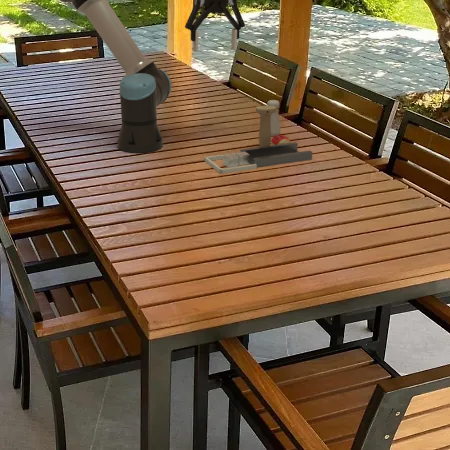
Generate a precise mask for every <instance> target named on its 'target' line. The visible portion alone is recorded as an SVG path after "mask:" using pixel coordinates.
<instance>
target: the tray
mask: <svg viewBox="0 0 450 450" xmlns="http://www.w3.org/2000/svg"><path fill="white" fill-rule="evenodd" d="M235 153H236V152H234V153H231V154H235ZM227 154H228V153H226V154H218V155H212V156H210V155H209V156H204V157H203V159H204V160H203V161H204V162H205V163H206V164H207V165H209V166H210V167H211V168H213V169H214V170H215V171H216V172H217V173H219V174H221V175H222V174H223V175H224V174H229V173H231V174H232V173H238V172H244V171H250V170H256V169H257V168H258V167H257V165H256V164H253V165H251V164H246V165H238V166H237V167H230V168H228V167H226V168H221V167H220V166H219V165H218V164H217V163H215V162H214V161H220V160H223V155H227Z"/></svg>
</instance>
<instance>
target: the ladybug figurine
mask: <svg viewBox="0 0 450 450" xmlns="http://www.w3.org/2000/svg"><path fill="white" fill-rule="evenodd" d="M286 143H292V141H291V140H290V138H289V137H287V136H286V135H284V134H283V135H282V134H279V135H275V136H272V137H271V144H270V145H278V144H286Z"/></svg>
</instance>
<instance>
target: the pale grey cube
mask: <svg viewBox="0 0 450 450" xmlns="http://www.w3.org/2000/svg"><path fill="white" fill-rule="evenodd" d="M226 154H227V155H225V154H222V155H223V159H222V160H223V163H222V164H223V166H224V167H226V168H232V167H239V165H238V158H239V157H238V156H236V155H235V154H232V153H226Z"/></svg>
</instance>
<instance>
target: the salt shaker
mask: <svg viewBox="0 0 450 450" xmlns="http://www.w3.org/2000/svg"><path fill="white" fill-rule="evenodd" d="M266 102H267V104H266V106H274V107H276V111H275V112H274V113H272V114H271V137H274V136H275V135H281V134H280V133H281V131H282V129H281V125H280V124H281V123H280V115H279V108H280V101H279V100H275V99H270V100H268V101H266Z"/></svg>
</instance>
